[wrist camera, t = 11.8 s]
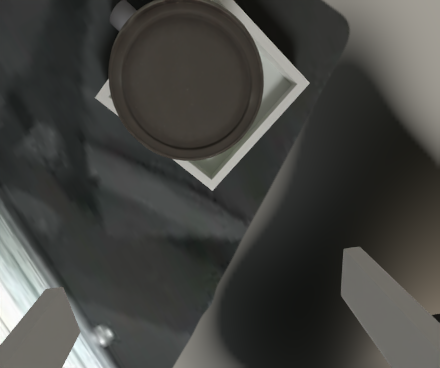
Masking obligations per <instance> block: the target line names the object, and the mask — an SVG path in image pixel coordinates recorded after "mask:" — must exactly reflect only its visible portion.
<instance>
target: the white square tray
mask: <svg viewBox="0 0 440 368" xmlns="http://www.w3.org/2000/svg"><path fill="white" fill-rule="evenodd" d="M211 1H213V2H216V3H218V4H220V5H221V6H223V7H224V8H226V9H227V10H229V11H230V12H231V13H232V14H234V15H235V16H236V17H237V18H238V19H239V20H240V21H241V22H242V23H243V25H244V26H245V27H246V29H247V30H248V32H249V33H250V34H251V36H252V38H253V40H254V42H255V44H256V46H257V49H258V51H259V54H260V57H261V61H262V66H263V73H264V89H263V97H262V102H261V106H260V109H259V112H258V114H257V116H256V118H255V121H254V122H253V124H252V126H251V127H250V129H249V130H248V132H247V133H246V134H245V135H244V137H243V138H242V139H241V140H240V141H239V142H238V143H236V144H235V145H234V146H233V147H231V148H230V149H228V150H227V151H225V152H223V153H221V154H219V155H217V156H214V157H212V158H208V159H204V160H198V161H182V160H176V159H173V160H174V161H176V162H177V163H178V164H179V165H181V166H182V167H183V168H184V169H186V170H187V171H188V172H190V173H191V174H192V175H193V176H195V177H196V178H197V179H198V180H200V181H201V182H202V183H203V184H205V185H206V186H207V187H208V188H210V189H211V190H213V189H214V188H215V187H216V186H217V185H218V184H219V183H220V182H221V181H222V179H223V178H224V177H225V176H226V175H227V174H228V173H229V172H230V171H231V170H232V168H233V167H234V166H235V165H236V164H237V163H238V162H239V161H240V160H241V158H242V157H243V156H244V155H245V154H246V153H247V152H248V151H249V150H250V149H251V147H252V146H253V145H254V144H255V143H256V142H257V141H258V140H259V139H260V138H261V136H262V135H263V134H264V133H265V132H266V131H267V130H268V129H269V128H270V126H271V125H272V124H273V123H274V122H275V121H276V120H277V119H278V118H279V117H280V115H281V114H282V113H283V112H284V111H285V110H286V109H287V108H288V107H289V106H290V104H291V103H292V102H293V101H294V100H295V99H296V98H297V97H298V96H299V95H300V93H301V92H302V91H303V90H304V89H305V88H306V87H307V86H308V85H309V82H308V81H307V80H306V79H305V77H304V76H303V75H302V74H301V73H300V72H299V71H298V70H297V69H296V68H295V67H294V66H293V64H292V63H291V62H290V61H289V60H288V59H287V58H286V57H285V56H284V55H283V54H282V53H281V51H280V50H279V49H278V48H277V47H276V46H275V45H274V44H273V43H272V42H271V41H270V40H269V38H268V37H267V36H266V35H265V34H264V33H263V32H262V31H261V30H260V29H259V28H258V27H257V25H256V24H255V23H254V22H253V21H252V20H251V19H250V18H249V17H248V16H247V15H246V13H245V12H244V11H243V10H242V9H241V8H240V7H239V6H238V5H237V4H236V3H235V2H234V0H211ZM136 11H137V10H136V9H135V8H134V7H133V6H131V5H130V4H129V3H128V2H127V1H126V0H122V1H120V2H119V3H118V4H117V5H116V6H115V7H114V9H113V11H112V13H111V15H110V23H111V24H112V25H113V26H114V27H115V28H116V29H117V30H118V31H120V30H121V28H122V27H123V25H124V24H125V23H126V21H127V20H128V19H129V18H130V17H131V16H132V15H133V14H134V13H135V12H136ZM95 98H96V99H97V100H99V101H100V102H101V103H102V104H104V105H105V106H106V107H107V108H109V109H110V110H111V111H113V112H114V113H115V114H116V115H118V114H117V112H116V109H115V107H114V105H113V101H112V98H111V94H110V88H109V79H108V80H107V82H106V83H105V84H104V86H103V87H102V89H101V90H100V92H99V93H98V94H97V96H96V97H95Z"/></svg>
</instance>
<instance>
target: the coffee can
mask: <svg viewBox="0 0 440 368" xmlns="http://www.w3.org/2000/svg"><path fill="white" fill-rule="evenodd" d="M108 79H109V88H110V94H111V98H112V101H113V105H114V107H115V109H116V112H117V114H118V116H119V118H120V120H121V121H122V123H123V124H124V126H125V127H126V128H127V130H128V131H129V132H130V133H131V134H132V135H133V136H134V137H135V138H136V139H137V140H138V141H139V142H140V143H141V144H142V145H144V146H145V147H146V148H148V149H149V150H151V151H153V152H155V153H157V154H159V155H161V156H164V157H167V158H171V159H176V160H182V161H198V160H204V159H208V158H212V157H214V156H217V155H219V154H221V153H223V152H225V151H227V150H228V149H230V148H231V147H233V146H234V145H235V144H236V143H238V142H239V141H240V140H241V139H242V138H243V137H244V135H245V134H246V133H247V132H248V130H249V129H250V127H251V126H252V124H253V122H254V121H255V118H256V116H257V114H258V112H259V109H260V106H261V102H262V97H263V89H264V73H263V66H262V61H261V57H260V54H259V51H258V49H257V46H256V44H255V42H254V40H253V38H252V36H251V34H250V33H249V32H248V30H247V29H246V27H245V26H244V25H243V23H242V22H241V21H240V20H239V19H238V18H237V17H236V16H235V15H234V14H232V13H231V12H230V11H229V10H227V9H226V8H224V7H223V6H221V5H220V4H218V3H216V2H213V1H211V0H154V1H152V2H150V3H148V4H146V5H144V6H143V7H142V8H140V9H139V10H137V11H136V12H135V13H134V14H133V15H132V16H131V17H130V18H129V19H128V20H127V21H126V23H125V24H124V25H123V27H122V28H121V30H120V31H119V33H118V35H117V37H116V39H115V42H114V44H113V47H112V50H111V55H110V60H109V68H108Z"/></svg>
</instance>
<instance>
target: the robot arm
mask: <svg viewBox="0 0 440 368" xmlns="http://www.w3.org/2000/svg"><path fill="white" fill-rule="evenodd" d="M341 296H342V297H343V299H344V300H345V302H346V303H347V305H348V306H349V308H350V309H351V310H352V312H353V313H354V315H355V316H356V318H357V319H358V320H359V322H360V323H361V324H362V326H363V328H364V329H365V330H366V332H367V333H368V335H369V336H370V338H371V339H372V340H373V342H374V343H375V345H376V346H377V347H378V349H379V351H380V352H381V353H382V355H383V356H384V358H385V359H386V361H387V362H388V363H389V365H390V366H391V368H440V314H435V315H431V314H430V313H429V312H427V311H426V310H425V309H424V308H423V307H422V306H421V305H420V304H419V303H418V302H417V301H416V300H415V299H414V298H413V297H412V296H411V295H410V294H409V293H408V292H407V291H405V290H404V289H403V288H402V287H401V286H400V285H399V284H398V283H397V282H396V281H395V280H394V279H393V278H392V277H391V276H390V275H389V274H388V273H387V272H385V270H383V269H382V268H381V267H380V266H379V265H378V264H377V263H376V262H375V261H374V260H373V259H372V258H371V257H370V256H369V255H368V254H367V253H365V251H364V250H362V249H361V248H360V247H354V248H347V249H344V253H343V269H342V285H341ZM79 334H80V329H79V327H78V324H77V321H76V319H75V316H74V314H73V311H72V309H71V306H70V304H69V301H68V299H67V296H66V294H65V291H64V289H63V287H58V288H51V289H46V290H45V291H44V292H43V293H42V295H41V296H40V297H39V298H38V300H37V301H36V302H35V303H34V305H33V306H32V307H31V308H30V309H29V311H28V312H27V313H26V314H25V316H24V317H23V318H22V319H21V321H20V322H19V323H18V324H17V325H16V327H15V328H14V329H13V330H12V332H11V333H10V334H9V335H8V336H7V338H6V339H5V340H4V341H3V343H2V344H1V345H0V368H62V366H63V365H64V363H65V361H66V359H67V357H68V355H69V353H70V351H71V349H72V347H73V345H74V343H75V341H76V339H77V338H78V336H79Z"/></svg>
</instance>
